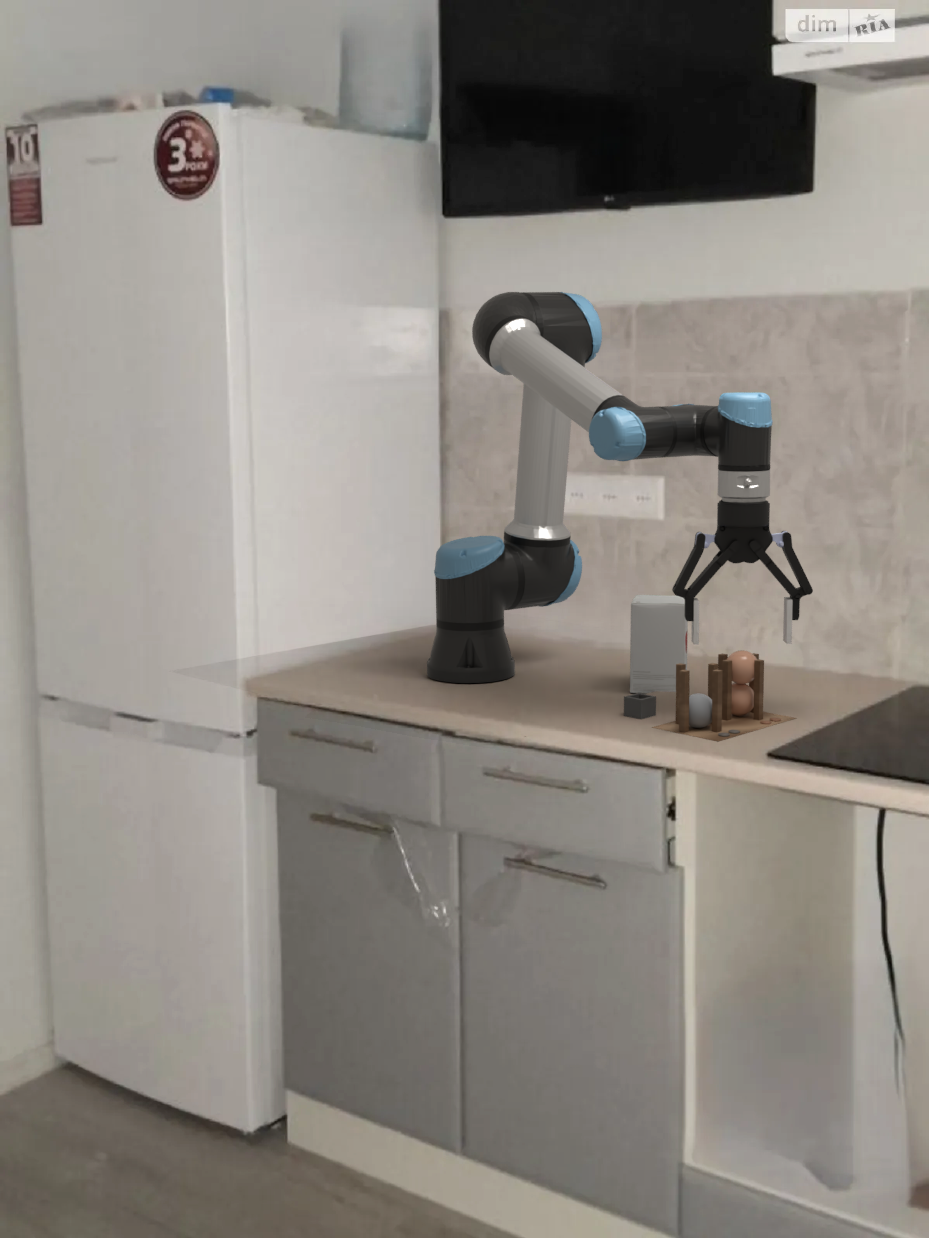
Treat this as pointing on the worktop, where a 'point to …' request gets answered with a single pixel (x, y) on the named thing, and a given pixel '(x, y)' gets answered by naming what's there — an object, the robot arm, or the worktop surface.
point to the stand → (639, 706)
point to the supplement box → (657, 642)
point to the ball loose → (742, 666)
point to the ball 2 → (742, 699)
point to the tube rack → (722, 704)
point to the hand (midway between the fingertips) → (741, 642)
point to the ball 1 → (700, 710)
